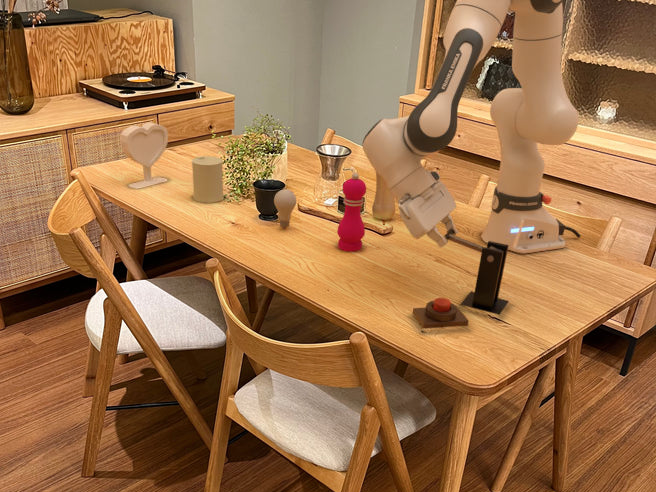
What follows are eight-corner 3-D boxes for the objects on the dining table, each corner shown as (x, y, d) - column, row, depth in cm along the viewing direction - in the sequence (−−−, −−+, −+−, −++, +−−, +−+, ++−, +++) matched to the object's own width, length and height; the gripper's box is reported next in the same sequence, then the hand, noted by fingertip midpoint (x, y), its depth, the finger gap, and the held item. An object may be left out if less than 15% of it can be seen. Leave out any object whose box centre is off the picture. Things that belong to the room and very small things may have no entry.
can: (210, 191, 220) (209, 152, 214) (229, 198, 215) (229, 159, 209) (187, 197, 215) (185, 158, 208) (206, 205, 209) (204, 165, 203)
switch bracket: (459, 309, 158) (469, 248, 150) (470, 295, 164) (480, 236, 156) (498, 319, 154) (511, 257, 147) (508, 305, 160) (521, 245, 153)
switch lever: (439, 244, 154) (442, 234, 153) (447, 236, 159) (450, 226, 157) (494, 265, 150) (498, 256, 149) (501, 257, 155) (505, 247, 153)
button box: (454, 314, 155) (457, 298, 153) (466, 330, 150) (469, 313, 148) (411, 317, 154) (414, 301, 152) (422, 333, 148) (424, 316, 146)
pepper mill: (361, 254, 182) (368, 178, 172) (334, 250, 183) (339, 175, 173) (365, 243, 188) (371, 170, 178) (338, 240, 189) (343, 167, 179)
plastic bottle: (388, 224, 201) (395, 154, 191) (367, 218, 204) (373, 150, 194) (398, 217, 206) (405, 149, 196) (377, 212, 209) (383, 145, 199)
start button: (446, 304, 152) (447, 297, 151) (452, 312, 149) (453, 304, 148) (430, 305, 151) (431, 298, 150) (436, 313, 148) (437, 305, 147)
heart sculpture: (133, 190, 218) (127, 131, 209) (123, 186, 221) (117, 127, 212) (172, 179, 228) (168, 123, 219) (162, 176, 231) (158, 120, 222)
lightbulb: (278, 233, 192) (279, 194, 186) (270, 225, 197) (270, 187, 191) (298, 230, 194) (300, 192, 189) (290, 223, 199) (291, 185, 193)
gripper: (406, 193, 145) (445, 248, 146) (440, 169, 160) (474, 219, 161) (384, 210, 149) (422, 263, 150) (419, 185, 164) (453, 233, 166)
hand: (449, 240), depth 156 cm, fingers closed on switch lever, 5 cm apart
